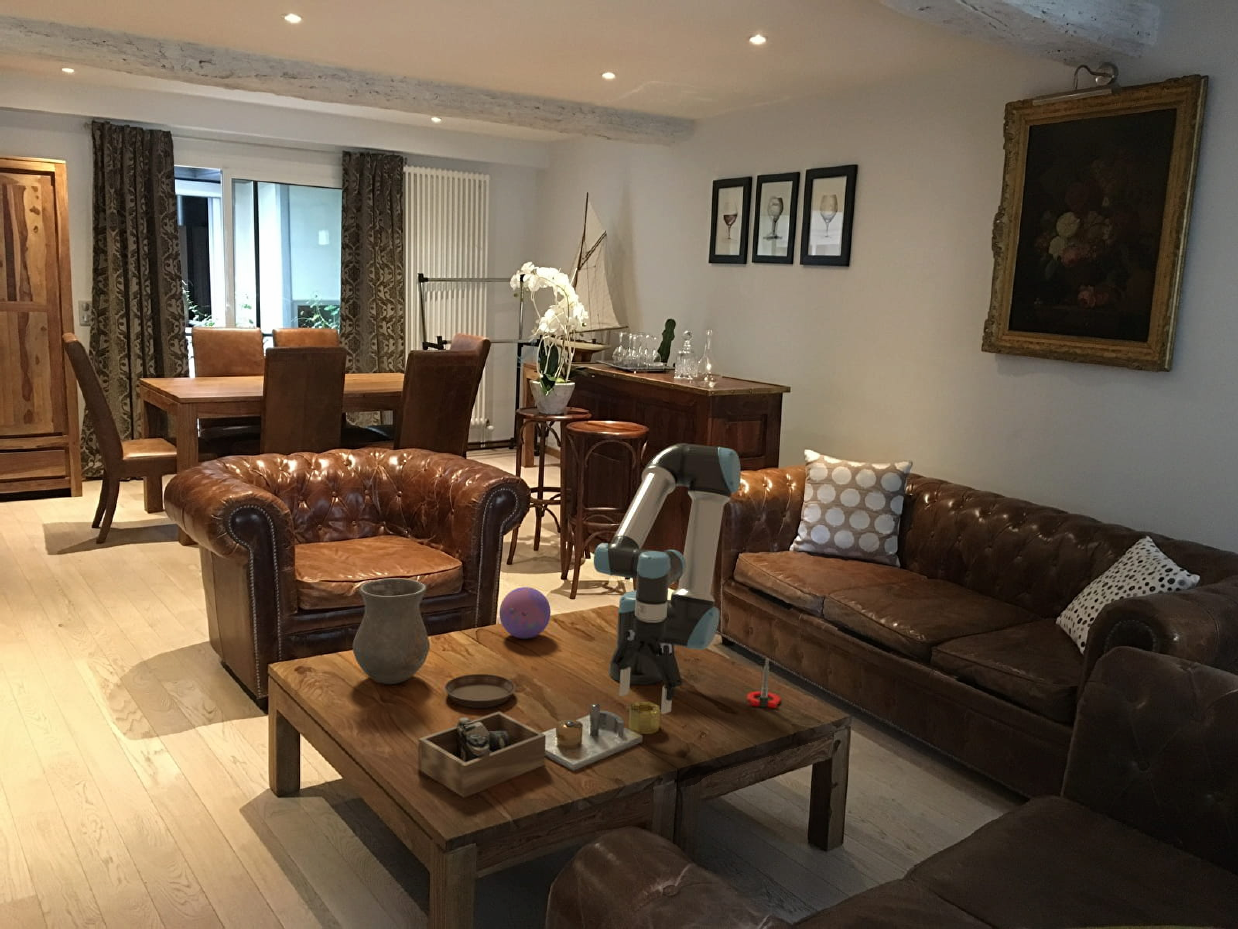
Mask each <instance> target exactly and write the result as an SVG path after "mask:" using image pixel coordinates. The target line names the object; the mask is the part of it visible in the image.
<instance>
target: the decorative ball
mask: <svg viewBox="0 0 1238 929" xmlns="http://www.w3.org/2000/svg"><path fill="white" fill-rule="evenodd" d="M551 612H552V611H551V605H550V602H549V601H548V599H547V597H546V595H544V594H543V593H542V592H541V591H539V590H538V589H535V588H533V587H528V586H523V587H517V588H515V589H513V590H511V591H510V592H508V593H507V594H506V595H505V597H504V598H503V599H502V601H501V603H500V607H499V620H500V623H501V625H502V627H503V628H504V630H505V631H506V632H507V633H508V634H510V635H511V636H513V637H514V638H518V639H522V640H523V639H532V638H534V637H537V636H538V635H540V634H541V633H543V631H545V629H546V628H547V626H548V625H549V622H550V620H551V615H552V614H551Z"/></svg>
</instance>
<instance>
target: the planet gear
mask: <svg viewBox="0 0 1238 929" xmlns="http://www.w3.org/2000/svg"><path fill="white" fill-rule="evenodd" d="M660 715H661V709H660V706H659V705H658V704H656V703H654V702H651V701H637V702H634V703H631V704H629V717H628V718H629V722H628V727H629V728H628V729H629V730H631V731H633V732H635V733H638V734H640V735H651V734H654V733H657V732H659V730H660V729H659V728H660V719H661V718H660V717H661V716H660Z"/></svg>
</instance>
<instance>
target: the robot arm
mask: <svg viewBox="0 0 1238 929" xmlns="http://www.w3.org/2000/svg"><path fill="white" fill-rule="evenodd" d="M741 475H742V474H741V462H740V458H739V455H738V453H737V452H736V451H735V450H734V449H732V448H726V447H721V446H714V445H713V446H710V445H701V444H691V443H684V442H682V443H676V444H673V445H670V446H667V448H664V449H663V450H662V451H661V450H660V451H659V453H657V454H656V455H655V456H654V457H653V458H651V459H650V461H648V463H647V464H646V466H645V468H644V469H643V471H642V474H641V484H640V486H639V487H638V489H637V491H636V494H635V495H634V497H633V498H632V501H631V503H630V505H629V506H628V509H627V511H626V512H625V515H624V517H623V519H622V521H621V522H620V525H619V526H618V528H617V529H616V532H615V534H614V536H613V538H612V539H611V542H610V543H608V542H606V543H605V542H603V543H602V542H601V543H600V544H597V547H596V548H595V550H594V553H593V554H594V555H593V566H594V570H595V571H596V572H598V573H599V574H603V575H609V576H613V577H620V578H628V579H633V580H634V579H635V580H636V585H635V586H636V588H635V589H634V590H629V591H627V592H625V593H624V594H622V595H621V597H620V599H619V605H618V606H619V607H618V610H617V614H618V616H617V633H616V634H617V636H616V638H617V639H616V647H615V649H614V652H613V655H612V658H611V660H610V662H609V666H608V674H609V676H610V678H612V679H613V680H615V681H617V682H619V692H618V696H620V697H624V696H627V695H629V694H630V687H631V686H630V685H636V686H638V685H640V686H641V685H642V686H643V685H652V684H657V683H659V682H661V681H663V683H664V685H663V686H662V690H661V692H662V694H661V709H660V714H663V715H665V714H667V713H670V712H672V702H673V701H674V698H675V692H676V691H675V689H676V688H678V687H680V686H682V685H683V680H682V677H681V673H680V669H679V666H678V662H677V658H676V655H675V647H680V648H685V649H688V650H692V649H693V650H700V651H702V650H706V649H707V648H709V646H710V645H711V643H712V642H713V640H714V638H715V636H716V633H717V630H718V626H719V622H720V621H719V620H720V610H719V608H717V606H715V601H716V600H715V598H714V597H713V596H712V595H711V589H712V584H713V583H712V582H713V577H714V571H715V566H716V565H715V564H716V557H717V550H718V544H719V538H720V532H721V526H722V519H723V513H724V507H725V505H726V504H727V503H729V501H731V499H732V497H731V496H732V494H735V493H738V491H739V488H740V486H741ZM676 487H687V488H688V489H687V494H688V496H690V498H691V506H690V513H689V520H688V525H687V532H686V537H685V542H684V543H685V544H684V550H683V554H682V552H680V551H679V550H675V549H667V550H663V551H658V550H650V549H644V548H643V545H644V543H645V541H646V539H647V537H648V534H649V533H650V530H651V529H652V527H653V525H654V523H655V520H656V519H657V517H658V514H659V512H660V510H661V509H662V507H663V504H664V502H665V500H666V498H667V496H668V494H672V492H674V490H675V489H676ZM675 582H678V586H677V588H676V589H675V590H674V591H673V592H671V595H670V599H668V595H669V586H671V585H672V584H674V583H675Z"/></svg>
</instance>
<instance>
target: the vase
mask: <svg viewBox="0 0 1238 929" xmlns="http://www.w3.org/2000/svg"><path fill="white" fill-rule="evenodd" d="M427 588H428V587H427V584H424V583H422V582H420V581H419V580H416V579H409V578H401V577H399V578H398V577H397V578H396V577H393V578H382V579H376V580H372V581H368V582H365V583H363V584H362V585H361V586H360V587H359V593H360V595H361V597H362V598H363V604H364V615H363V617H362V621H361V623H360V625H359V627H358V630H357V632H356V634H355V636H354V639H353V642H352V651H353V655H354V657H355V658H354V659H355V661H356V662H357V664H358V666H359V667H360V669H361V670H362V671H363V672H364V674H366V675H367V676H368V677H369V678H370V679H371V680H373V681H374V682H376V683H380V684H385V685H395V684H401V683H403V682H405V681H406V682H407V681H408V680H409V679H410V678H411V677H413V676H414V675H416V673H417V672H419V671H420V669H421V668H422V667H423V665H424V664H425V662H426V660H427V658H428V655H429V651H430V648H431V644H430V640H429V637H428V633H427V630H426V626H425V625H424V620H423V618H422V614H421V611H420V603H421V602H422V599H423V597H424V595H425V593H426V591H427Z"/></svg>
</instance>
